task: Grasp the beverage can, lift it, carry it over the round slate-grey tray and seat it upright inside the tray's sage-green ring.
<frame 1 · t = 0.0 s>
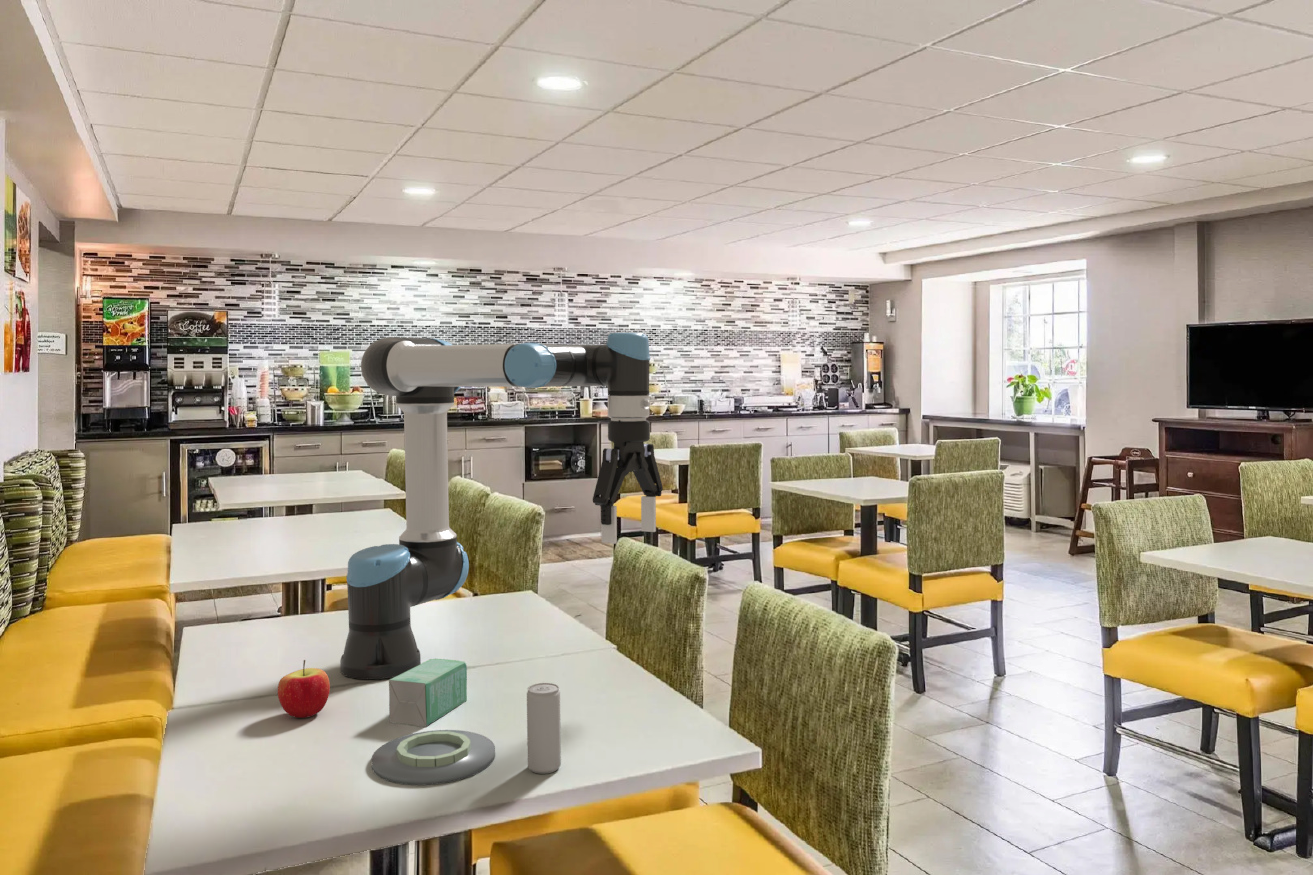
hand: (629, 537, 172), 28 cm above the table, fingers open, 13 cm apart
beverage can: (544, 769, 139), on the table
tray: (434, 759, 143), on the table
apple: (304, 716, 161), on the table
box: (430, 712, 163), on the table
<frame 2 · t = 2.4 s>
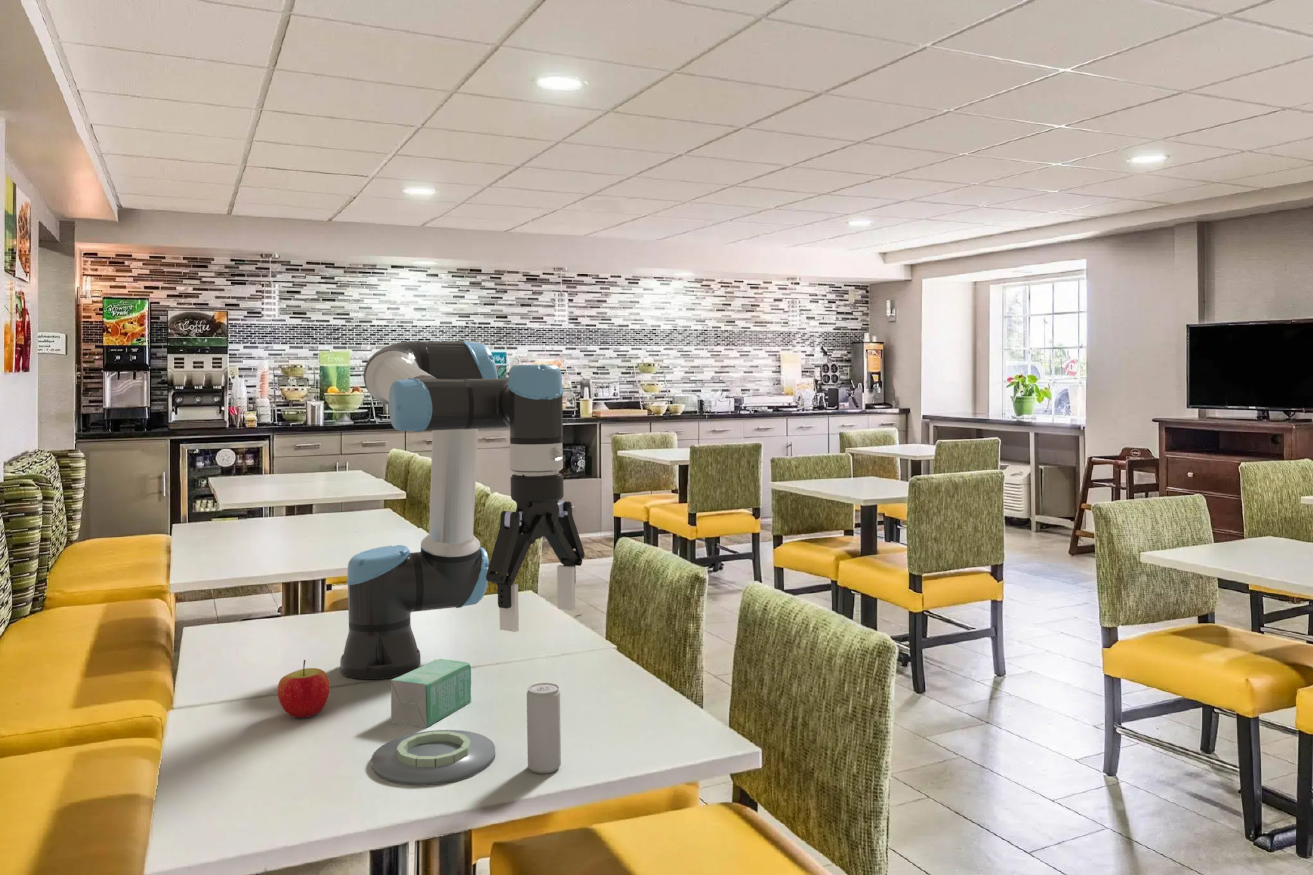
hand: (539, 619, 137), 22 cm above the table, fingers open, 13 cm apart
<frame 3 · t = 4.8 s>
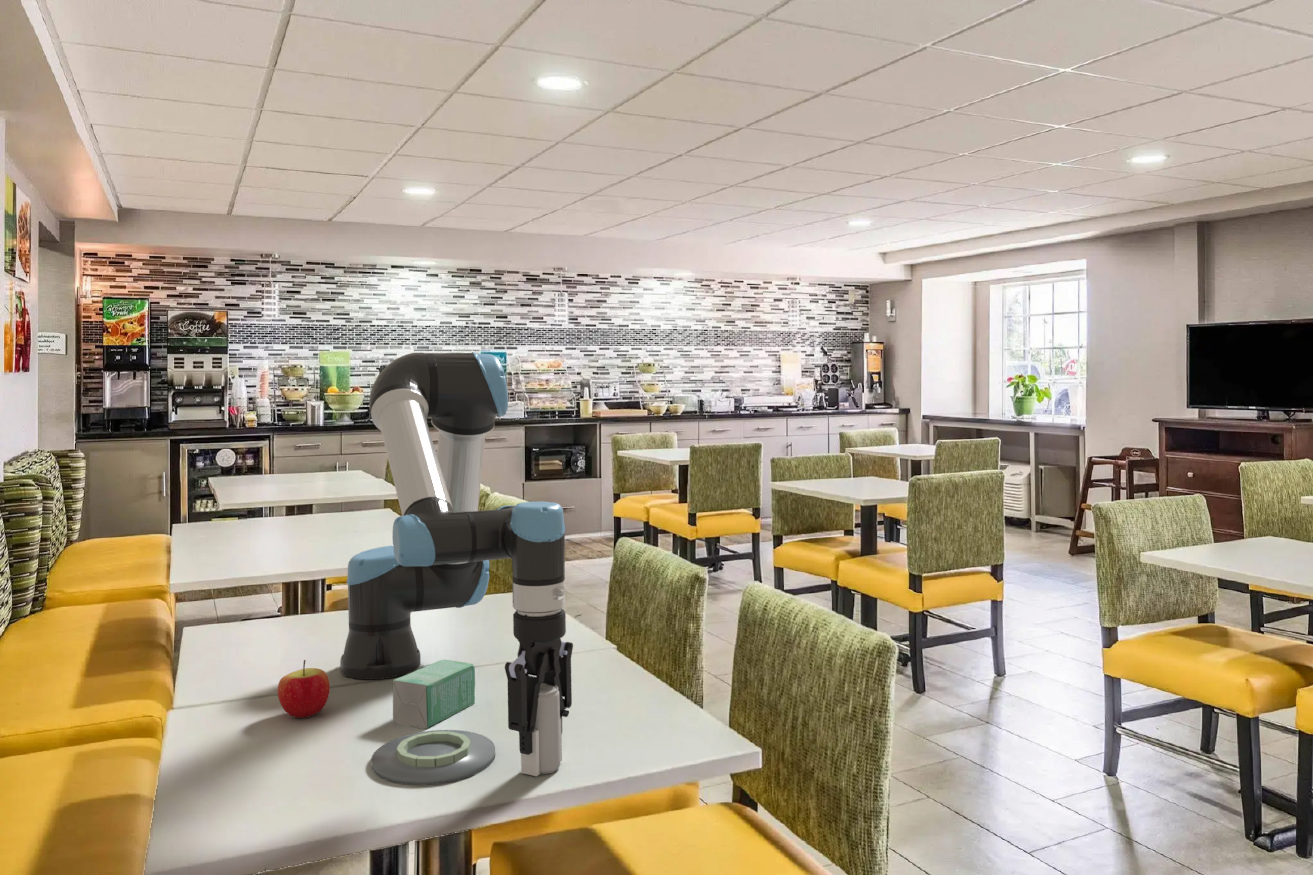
hand: (541, 766, 139), 0 cm above the table, fingers closed on beverage can, 5 cm apart
beverage can: (544, 769, 139), on the table, touching gripper
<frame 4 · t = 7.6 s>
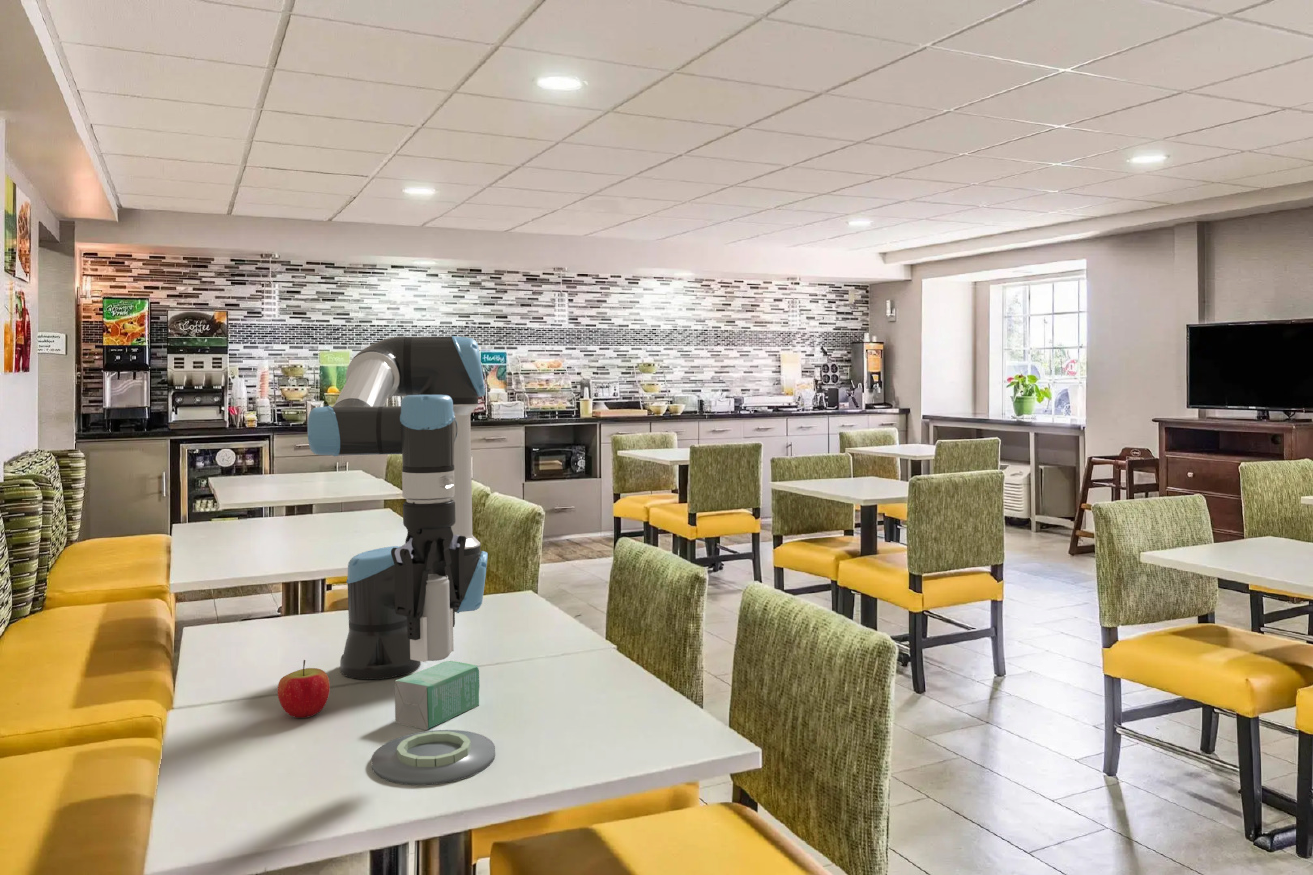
hand: (432, 654, 142), 16 cm above the table, fingers closed on beverage can, 5 cm apart
beverage can: (434, 658, 142), point 15 cm above the table, touching gripper
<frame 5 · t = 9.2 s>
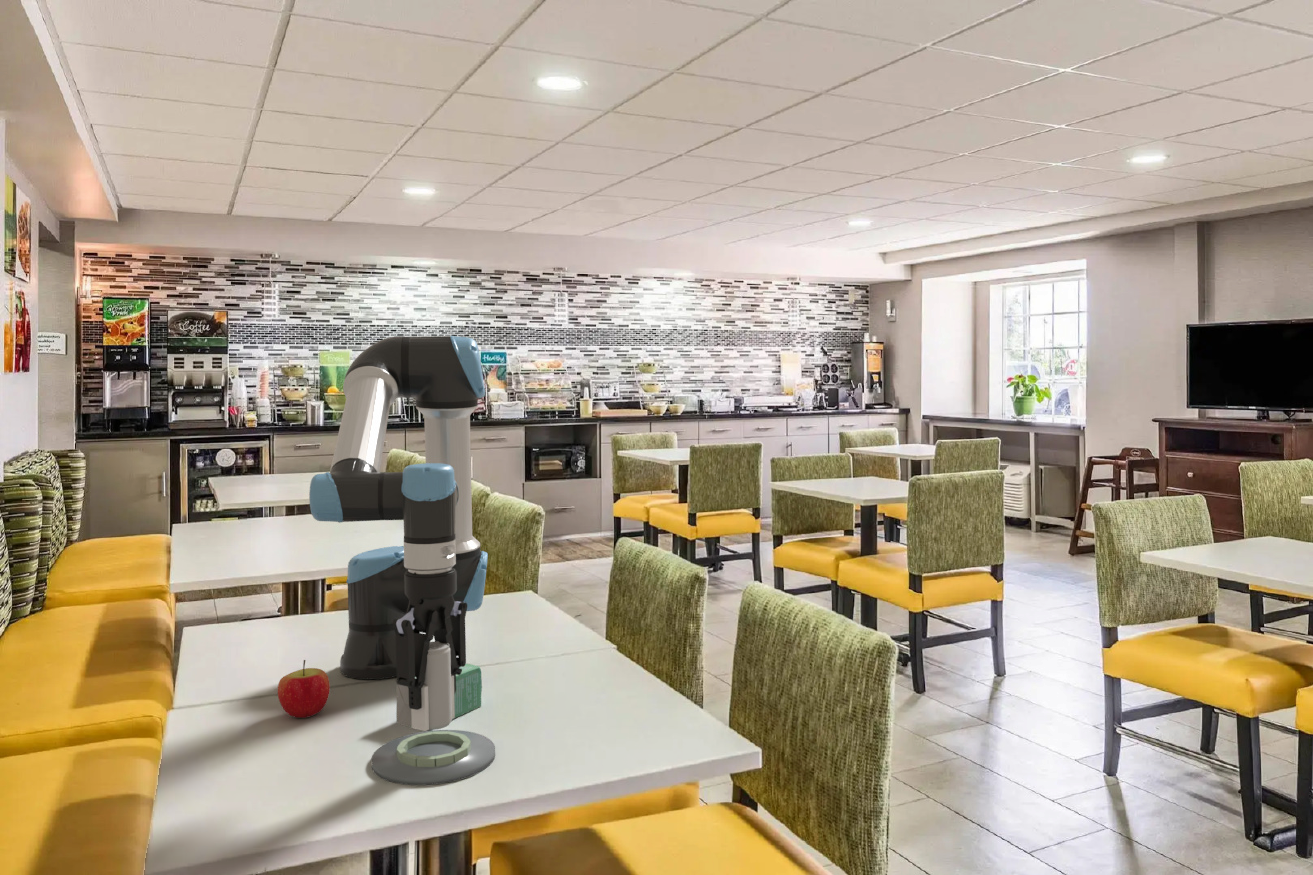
hand: (433, 722, 142), 6 cm above the table, fingers closed on beverage can, 5 cm apart
beverage can: (435, 725, 142), point 5 cm above the table, touching gripper
when the fingers open (3 cm above the table, at t = 10.4 s): beverage can drops 2 cm, resting on tray.
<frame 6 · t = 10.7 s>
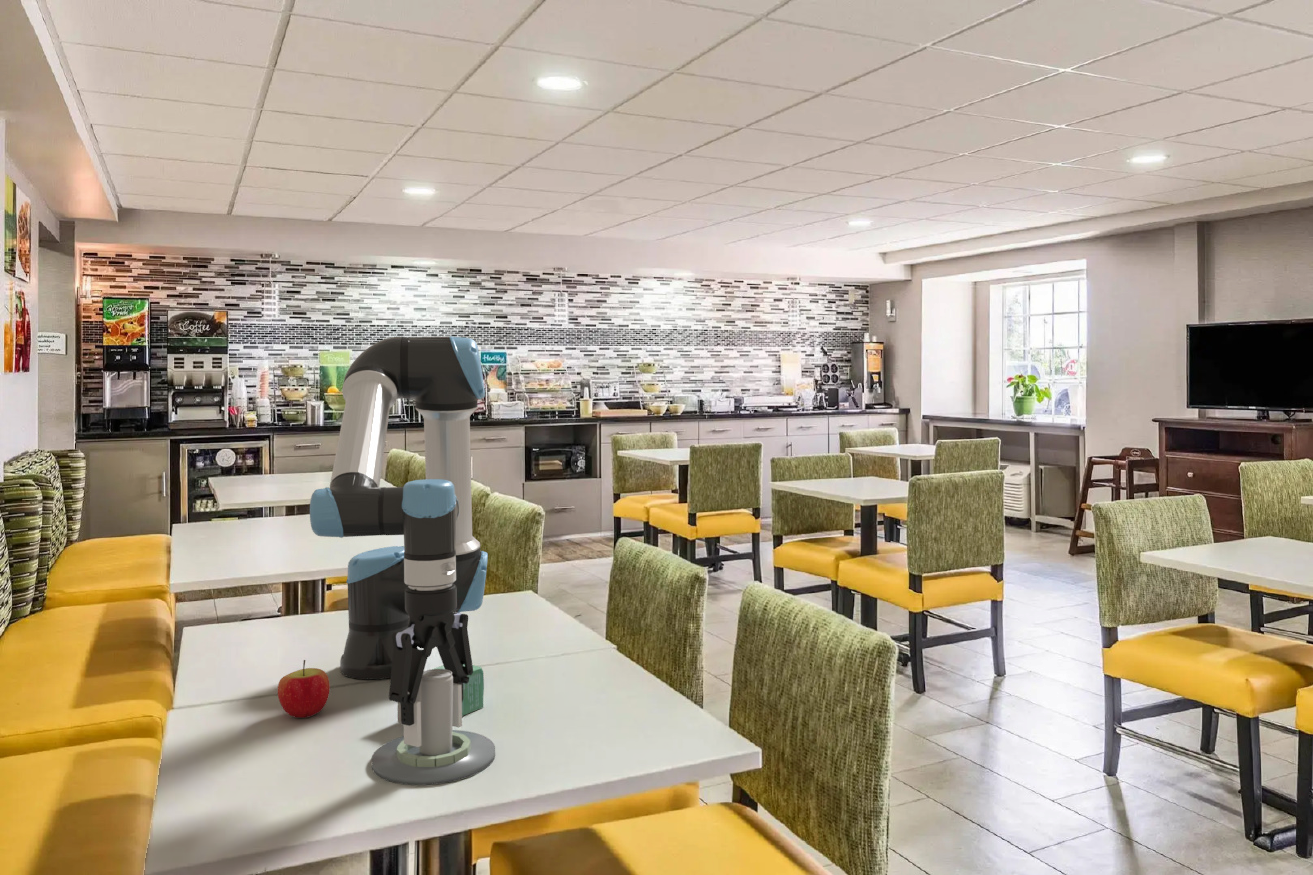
hand: (433, 734, 143), 4 cm above the table, fingers open, 8 cm apart
beverage can: (435, 753, 143), point 1 cm above the table, touching tray
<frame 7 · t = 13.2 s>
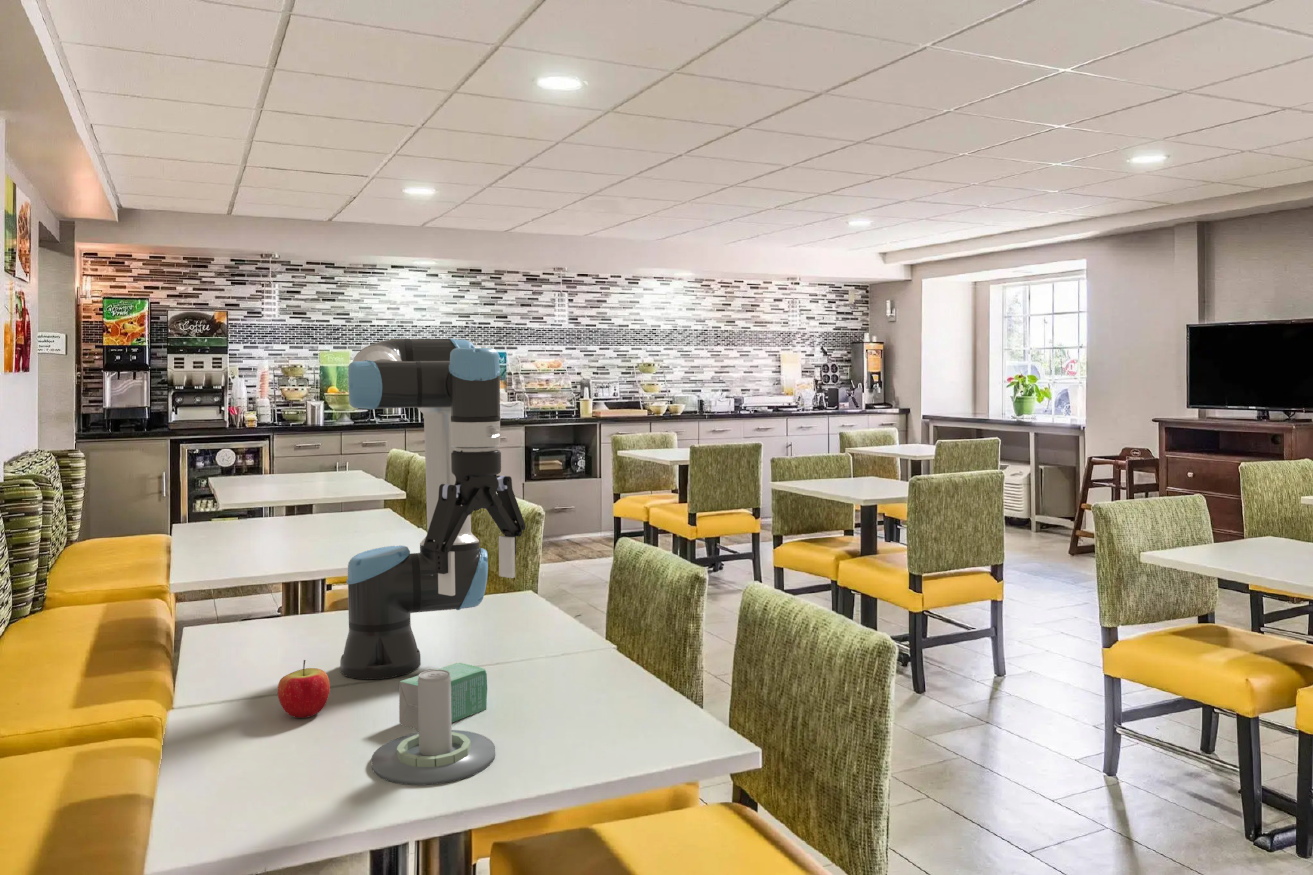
hand: (478, 585, 148), 25 cm above the table, fingers open, 13 cm apart
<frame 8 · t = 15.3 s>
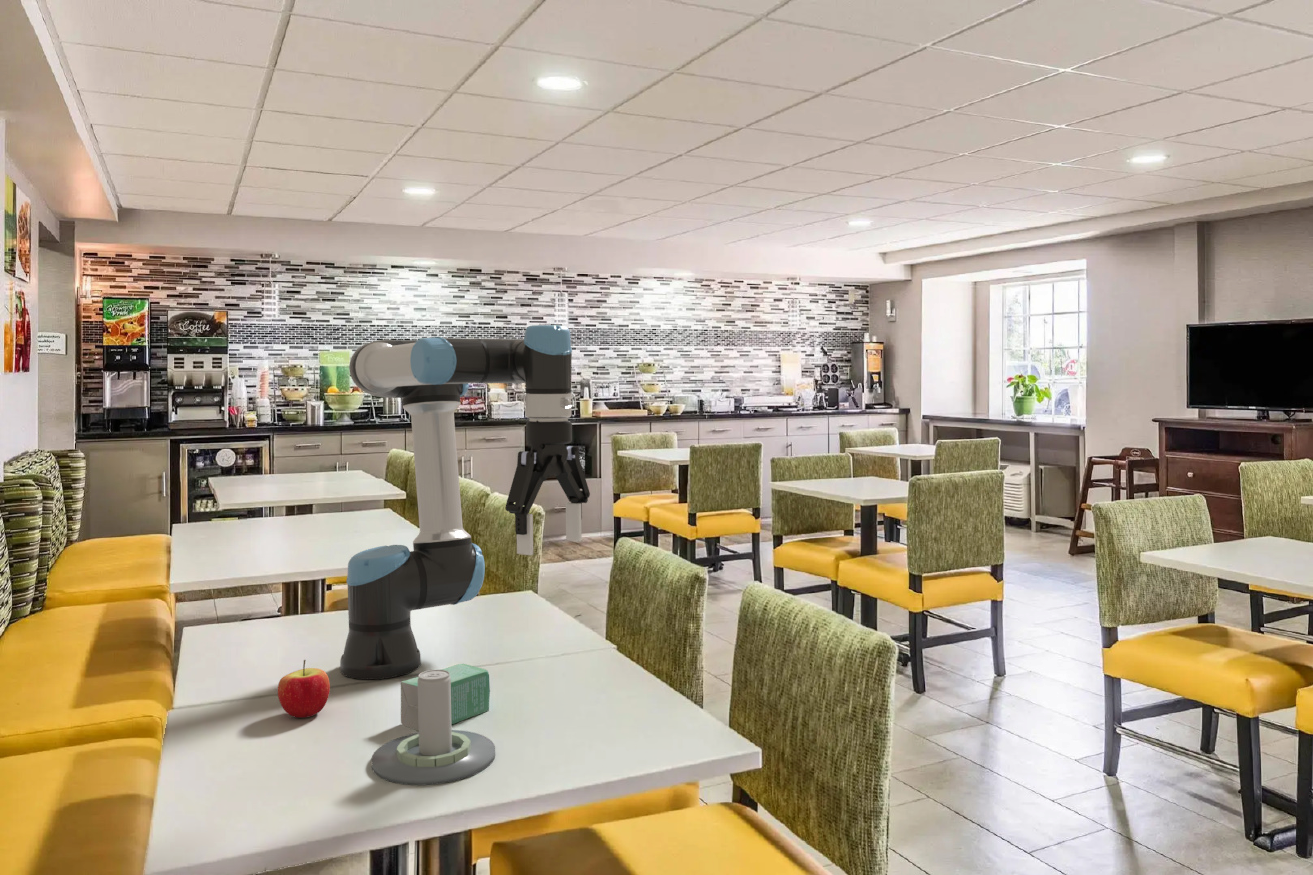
hand: (550, 547, 158), 29 cm above the table, fingers open, 13 cm apart
at the end: beverage can 0.3 cm from the tray (horizontally); beverage can tilted 0°; the gripper is holding nothing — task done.
